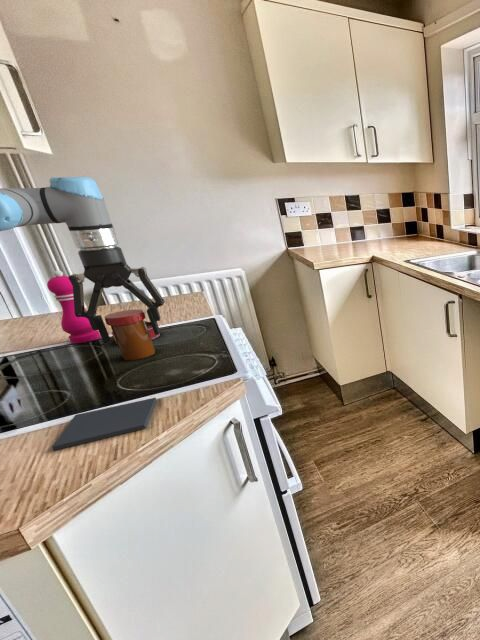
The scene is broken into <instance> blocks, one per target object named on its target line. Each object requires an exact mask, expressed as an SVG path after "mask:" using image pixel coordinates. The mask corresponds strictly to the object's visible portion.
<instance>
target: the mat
mask: <svg viewBox="0 0 480 640" xmlns="http://www.w3.org/2000/svg"><path fill="white" fill-rule="evenodd" d="M157 401H158V399H157V397H151V398H147V399H142V400H138V401H133V402H128V403H124V404H120V405H115V406H110V407H106V408H105V407H104V408H100V409H97V410H92V411H87V412H82V413H77V414H75V415H74V416H73V417H72V419H71V420H70V422H69V423H68V424H67V425H66V427H65V429H63V431H62V432H61V434H60V435H59V437H58V438H57V439H56V440H55V441H54V443H53V445H52V446H51V448H52V450H53V451H58V450H63V449H67V448H71V447H74V446H78V445H82V444H87V443H91V442H95V441H99V440H103V439H107V438H112V437H115V436H121V435H125V434H127V433H132V432H136V431H141V430H144V429H147V427H148V424H149V422H150V419H151V417H152V414H153V412H154V409H155V406H156V404H157Z"/></svg>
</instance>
